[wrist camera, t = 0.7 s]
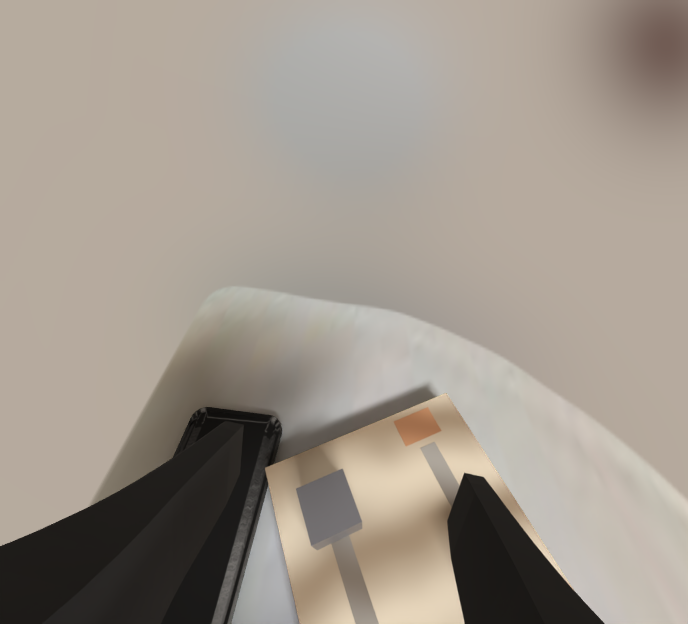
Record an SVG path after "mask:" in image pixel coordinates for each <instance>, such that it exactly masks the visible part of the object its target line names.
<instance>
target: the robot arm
mask: <svg viewBox="0 0 688 624" xmlns="http://www.w3.org/2000/svg"><path fill="white" fill-rule="evenodd" d="M243 429H244V425H243V424H239V423H234V422H229V421H225V422H223V423H222V424H220V425H219V426H218V427H216V428H215V429H213V430H212V431H211V432H209V433H208V434H206V435H205V436H204V437H202V438H201V439H199V440H198V441H197V442H195V443H194V444H192V445H191V446H190V447H188V448H187V449H185V450H184V451H182V452H181V453H179V454H178V455H176V456H175V457H173V458H172V459H170V460H169V461H167V462H166V463H164V464H163V465H161V466H160V467H158V468H156V469H155V470H153V471H152V472H150V473H148V474H147V475H145V476H144V477H142V478H140V479H139V480H137V481H135V482H134V483H132V484H130V485H129V486H127V487H125V488H123V489H122V490H120V491H118V492H116V493H115V494H113V495H111V496H109V497H107V498H105V499H103V500H101V501H99V502H98V503H96V504H94V505H92V506H90V507H88V508H86V509H84V510H82V511H79V512H77V513H75V514H73V515H71V516H69V517H67V518H64V519H62V520H60V521H58V522H56V523H54V524H51V525H49V526H47V527H45V528H43V529H41V530H38V531H36V532H34V533H32V534H29V535H27V536H24V537H22V538H19V539H17V540H15V541H13V542H10V543H7V544H5V545H2V546H0V624H161V622H162V620H163V618H164V616H165V614H166V612H167V610H168V608H169V606H170V604H171V602H172V600H173V598H174V596H175V594H176V592H177V590H178V588H179V586H180V585H181V583H182V581H183V579H184V577H185V576H186V574H187V572H188V570H189V569H190V567H191V565H192V564H193V562H194V560H195V558H196V557H197V555H198V553H199V551H200V550H201V548H202V546H203V545H204V543H205V541H206V539H207V538H208V536H209V534H210V532H211V531H212V529H213V527H214V525H215V524H216V522H217V520H218V518H219V517H220V515H221V513H222V511H223V510H224V508H225V506H226V504H227V502H228V500H229V498H230V495H231V493H232V491H233V489H234V486H235V484H236V482H237V479H238V477H239V475H240V467H241V454H242V442H243ZM447 525H448V536H449V546H450V555H451V561H452V566H453V571H454V576H455V581H456V585H457V590H458V595H459V600H460V604H461V609H462V613H463V618H464V623H465V624H604V623H603V621H602V620H601V619H600V618H599V617H598V616H597V615H596V614H595V613H594V612H593V611H592V610H591V609H590V608H589V607H588V605H587V604H586V603H585V602H584V601H583V600H582V599H581V598H580V597H579V596H578V594H577V593H576V592H575V591H574V590H573V589H572V588H571V587H570V585H569V584H568V583H567V582H566V581H565V580H564V578H563V577H562V576H561V575H560V574H559V573H558V571H557V570H556V569H555V568H554V567H553V565H552V564H551V563H550V562H549V561H548V559H547V558H546V557H545V556H544V555H543V553H542V552H541V551H540V550H539V548H538V547H537V546H536V545H535V543H534V542H533V541H532V540H531V538H530V537H529V536H528V535H527V533H526V532H525V531H524V529H523V528H522V527H521V525H520V524H519V523H518V522H517V520H516V519H515V518H514V516H513V515H512V514H511V512H510V511H509V510H508V508H507V507H506V506H505V504H504V503H503V502H502V500H501V499H500V498H499V496H498V495H497V494H496V492H495V491H494V490H493V488H492V487H491V486H490V484H489V483H488V482H487V480H486V479H485V478H484V477H482V476H477V475H473V474H468V473H464V475H463V477H462V480H461V483H460V486H459V489H458V492H457V494H456V497H455V500H454V503H453V506H452V508H451V511H450V514H449V517H448V520H447Z"/></svg>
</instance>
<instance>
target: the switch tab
mask: <svg viewBox="0 0 688 624" xmlns="http://www.w3.org/2000/svg"><path fill="white" fill-rule="evenodd" d="M296 491H297V495H298V499H299V503H300V506H301V510H302V514H303V517H304V521H305V525H306V528H307V532H308V536H309V540H310V543H311V546H312V547H313V548H315V549H316V550H319V549H321V548H323V547H325V546H327V545H330V544H332V543H334V542H336V541H338V540H340V539H342V538H344V537H346V536H348V535H350V534H352V533H355V532H357V531H359V530H361V529H362V520H361V517H360V514H359V512H358V509H357V506H356V503H355V501H354V498H353V495H352V493H351V490H350V487H349V484H348V482H347V479H346V476H345V473H344V471H343V468H342V469H340V470H338V471H335V472H333V473H331V474H329V475H326V476H324V477H322V478H319V479H317V480H315V481H312V482H310V483H308V484H306V485H303V486H301V487H299V488H296Z"/></svg>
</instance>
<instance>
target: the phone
mask: <svg viewBox="0 0 688 624" xmlns="http://www.w3.org/2000/svg"><path fill="white" fill-rule="evenodd" d="M225 421H229V422H234V423H239V424H243V425H244V429H243V442H242V454H241V467H240V475H239V477H238V479H237V482H236V484H235V486H234V489H233V491H232V493H231V495H230V498H229V500H228V502H227V504H226V506H225V508H224V510H223V511H222V513H221V515H220V517H219V518H218V520H217V522H216V524H215V525H214V527H213V529H212V531H211V532H210V534H209V536H208V538H207V539H206V541H205V543H204V545H203V546H202V548H201V550H200V551H199V553H198V555H197V557H196V558H195V560H194V562H193V564H192V565H191V567H190V569H189V570H188V572H187V574H186V576H185V577H184V579H183V581H182V583H181V585H180V586H179V588H178V590H177V592H176V594H175V596H174V598H173V600H172V602H171V604H170V606H169V608H168V610H167V612H166V614H165V616H164V618H163V620H162V622H161V624H231V622H232V618H233V614H234V611H235V607H236V603H237V599H238V596H239V592H240V588H241V584H242V581H243V577H244V573H245V569H246V566H247V562H248V558H249V554H250V551H251V547H252V543H253V539H254V536H255V532H256V528H257V524H258V521H259V517H260V513H261V509H262V506H263V502H264V498H265V494H266V491H267V487H268V480H267V475H266V471H265V468H266V467H268V466H271V465H273V464H274V461H275V457H276V453H277V449H278V446H279V442H280V438H281V434H282V427H281V424H280V422H279V421H278V419H277V418H276V417H274V416H271V415H265V414H257V413H250V412H242V411H234V410H227V409H219V408H212V407H204V408H201V409H199V410H198V411H196V412H195V413H194V414H193V415H192V417H191V419H190V421H189V423H188V425H187V428H186V430H185V432H184V434H183V436H182V439H181V441H180V443H179V445H178V447H177V450H176V452H175V454H174V456H173V457H175V456H176V455H178V454H179V453H181V452H182V451H184V450H185V449H187V448H188V447H190V446H191V445H192V444H194V443H195V442H197V441H198V440H199V439H201V438H202V437H204V436H205V435H206V434H208V433H209V432H211V431H212V430H213V429H215V428H216V427H218V426H219V425H220V424H222V423H223V422H225Z"/></svg>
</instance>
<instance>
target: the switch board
mask: <svg viewBox="0 0 688 624" xmlns="http://www.w3.org/2000/svg"><path fill="white" fill-rule="evenodd" d="M342 468H343V471H344V473H345V476H346V479H347V482H348V484H349V487H350V490H351V493H352V495H353V498H354V501H355V503H356V506H357V509H358V512H359V514H360V517H361V520H362V529H361V530H359V531H357V532H355V533H352V534H350V535H348V536H346V537H344V538H342V539H340V540H338V541H336V542H334V543H332V544H330V545H327V546H325V547H323V548H321V549H319V550H316V549H315V548H313V547H312V546H311V543H310V540H309V536H308V532H307V528H306V525H305V521H304V517H303V514H302V510H301V506H300V503H299V499H298V495H297V491H296V488H299V487H301V486H303V485H306V484H308V483H310V482H312V481H315V480H317V479H319V478H322V477H324V476H326V475H329V474H331V473H333V472H335V471H338V470H340V469H342ZM265 471H266V475H267V480H268V484H269V489H270V493H271V498H272V502H273V507H274V511H275V516H276V520H277V524H278V529H279V533H280V538H281V542H282V547H283V551H284V556H285V560H286V565H287V569H288V574H289V578H290V583H291V587H292V592H293V596H294V601H295V605H296V610H297V614H298V618H299V623H300V624H465V623H464V618H463V613H462V609H461V604H460V600H459V595H458V590H457V585H456V581H455V576H454V571H453V566H452V561H451V555H450V546H449V536H448V525H447V520H448V517H449V514H450V511H451V508H452V506H453V503H454V500H455V497H456V494H457V492H458V489H459V486H460V483H461V480H462V477H463V475H464V473H468V474H473V475H477V476H482V477H484V478H485V479H486V480H487V482H488V483H489V484H490V486H491V487H492V488H493V490H494V491H495V492H496V494H497V495H498V496H499V498H500V499H501V500H502V502H503V503H504V504H505V506H506V507H507V508H508V510H509V511H510V512H511V514H512V515H513V516H514V518H515V519H516V520H517V522H518V523H519V524H520V525H521V527H522V528H523V529H524V531H525V532H526V533H527V535H528V536H529V537H530V538H531V540H532V541H533V542H534V543H535V545H536V546H537V547H538V548H539V550H540V551H541V552H542V553H543V555H544V556H545V557H546V558H547V559H548V561H549V562H550V563H551V564H552V565H553V567H554V568H555V569H556V570H557V571H558V573H559V574H560V575H561V576H562V577H563V578H564V580H565V581H566V582H567V583H568V584H569V585H570V583H569V582H568V580H567V579H566V577H565V576H564V574H563V572H562V571H561V569H560V568H559V566H558V565H557V563H556V562H555V560H554V559H553V557H552V555H551V554H550V552H549V551H548V549H547V548H546V546H545V545H544V543H543V542H542V540H541V538H540V537H539V535H538V534H537V532H536V531H535V529H534V528H533V526H532V525H531V523H530V521H529V520H528V518H527V517H526V515H525V514H524V512H523V511H522V509H521V508H520V506H519V504H518V503H517V501H516V500H515V498H514V497H513V495H512V494H511V492H510V491H509V489H508V487H507V486H506V484H505V483H504V481H503V480H502V478H501V477H500V475H499V474H498V472H497V470H496V469H495V467H494V466H493V464H492V463H491V461H490V460H489V458H488V457H487V455H486V453H485V452H484V450H483V449H482V447H481V446H480V444H479V443H478V441H477V440H476V438H475V437H474V435H473V433H472V432H471V430H470V429H469V427H468V426H467V424H466V423H465V421H464V420H463V418H462V416H461V415H460V413H459V412H458V410H457V409H456V407H455V406H454V404H453V403H452V401H451V399H450V398H449V396H448V395H447V393H445V394H442V395H440V396H438V397H435V398H433V399H430V400H428V401H425V402H423V403H421V404H418V405H416V406H413V407H411V408H409V409H406V410H404V411H401V412H399V413H396V414H394V415H392V416H389V417H387V418H384V419H382V420H380V421H377V422H375V423H372V424H370V425H367V426H365V427H363V428H360V429H358V430H355V431H353V432H351V433H348V434H346V435H343V436H341V437H338V438H336V439H334V440H331V441H329V442H326V443H324V444H322V445H319V446H317V447H314V448H312V449H309V450H307V451H305V452H302V453H300V454H297V455H295V456H293V457H290V458H288V459H285V460H283V461H280V462H278V463H276V464H273V465H271V466H268V467H266V468H265ZM570 587H571V588H572V586H571V585H570ZM572 589H573V588H572ZM573 590H574V589H573Z"/></svg>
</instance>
